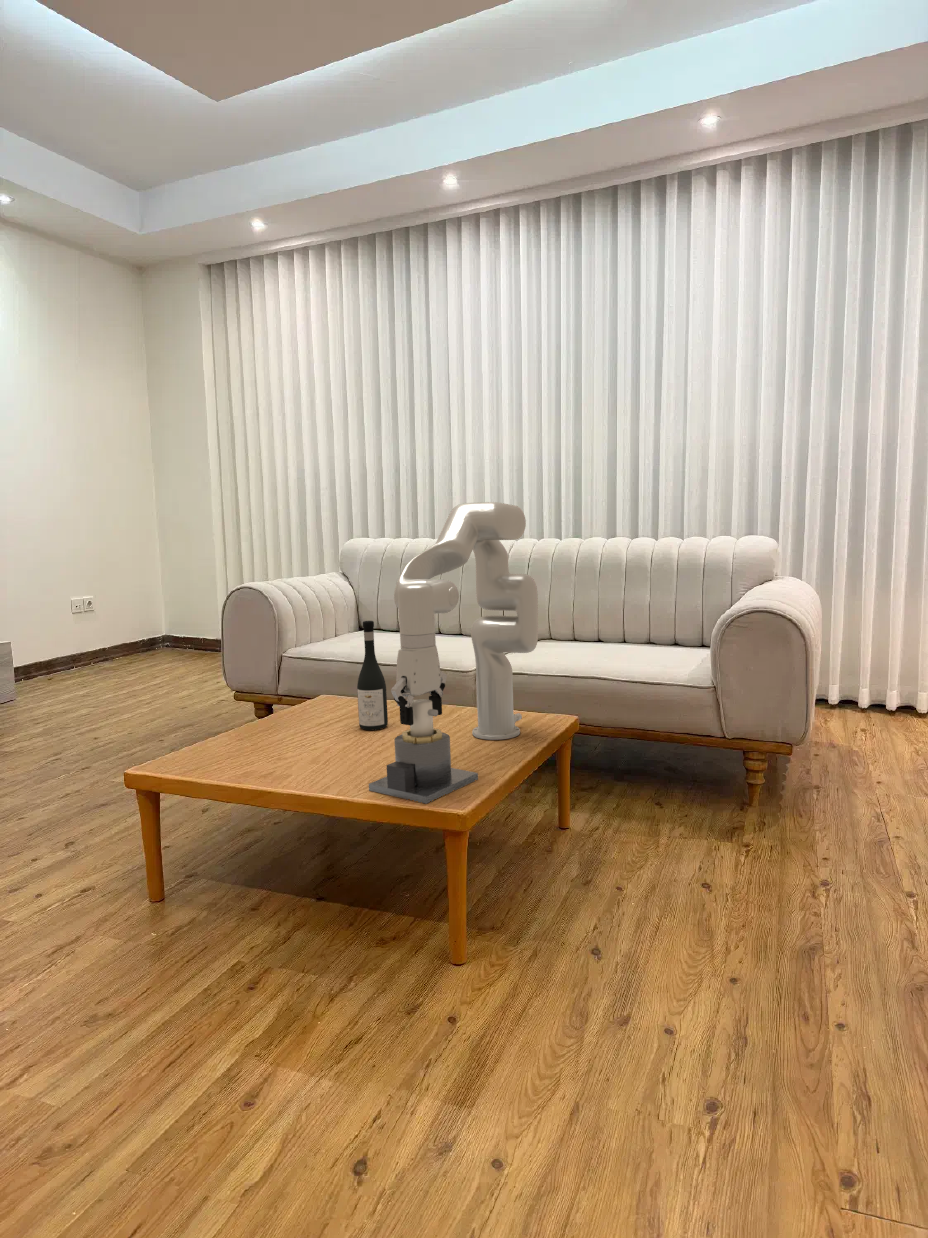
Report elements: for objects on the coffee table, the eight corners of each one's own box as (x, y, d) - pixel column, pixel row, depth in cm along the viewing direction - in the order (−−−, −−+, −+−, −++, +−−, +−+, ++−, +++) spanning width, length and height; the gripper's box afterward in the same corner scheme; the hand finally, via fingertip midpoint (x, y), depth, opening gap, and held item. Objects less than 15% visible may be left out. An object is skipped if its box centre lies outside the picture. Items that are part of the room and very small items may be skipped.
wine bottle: (383, 731, 229) (378, 622, 225) (355, 731, 230) (349, 623, 226) (391, 723, 237) (385, 618, 233) (363, 723, 238) (358, 619, 234)
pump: (420, 733, 185) (418, 698, 184) (444, 737, 181) (442, 701, 180) (406, 739, 181) (404, 703, 180) (430, 743, 177) (428, 706, 176)
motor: (422, 768, 195) (420, 719, 193) (478, 779, 185) (476, 728, 183) (369, 790, 180) (366, 737, 179) (426, 803, 171) (423, 748, 169)
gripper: (429, 634, 188) (433, 708, 190) (377, 646, 174) (381, 726, 176) (456, 636, 183) (459, 712, 186) (404, 649, 170) (408, 731, 172)
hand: (421, 719), depth 181 cm, fingers open, 9 cm apart
